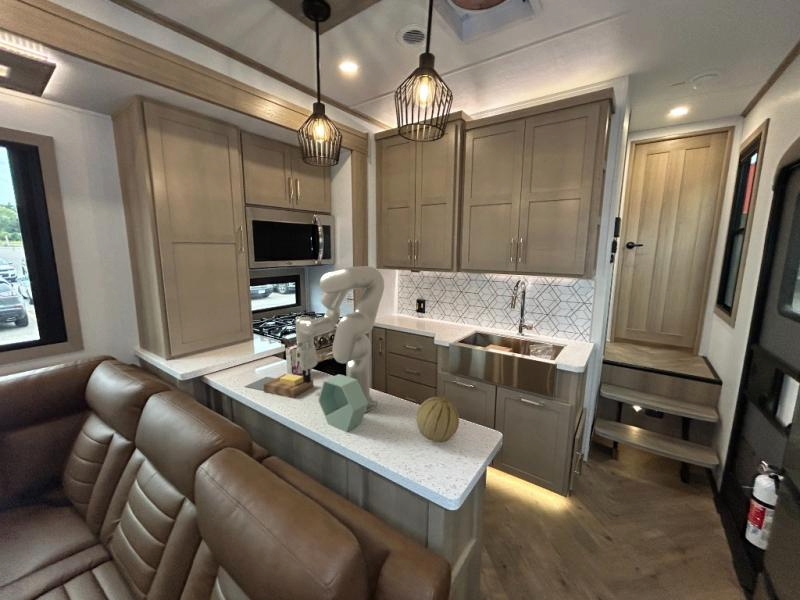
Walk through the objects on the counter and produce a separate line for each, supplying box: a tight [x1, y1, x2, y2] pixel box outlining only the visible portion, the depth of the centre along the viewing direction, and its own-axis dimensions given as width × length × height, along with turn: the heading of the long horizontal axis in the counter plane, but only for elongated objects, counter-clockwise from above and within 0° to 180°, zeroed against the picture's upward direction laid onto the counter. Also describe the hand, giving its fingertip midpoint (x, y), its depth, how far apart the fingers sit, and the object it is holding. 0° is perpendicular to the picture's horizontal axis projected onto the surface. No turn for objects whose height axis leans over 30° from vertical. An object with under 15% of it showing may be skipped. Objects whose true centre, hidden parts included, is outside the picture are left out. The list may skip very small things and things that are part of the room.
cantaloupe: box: [415, 396, 460, 443], centre depth 113 cm, size 15×15×15 cm
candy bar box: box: [285, 344, 303, 376], centre depth 176 cm, size 11×5×16 cm, turn 143°
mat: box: [244, 376, 277, 392], centre depth 165 cm, size 14×14×1 cm
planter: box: [317, 373, 368, 433], centre depth 124 cm, size 17×8×21 cm
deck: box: [263, 373, 314, 399], centre depth 158 cm, size 18×14×4 cm
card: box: [280, 373, 303, 386], centre depth 157 cm, size 9×6×2 cm, turn 66°
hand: (307, 382), depth 153 cm, fingers closed
